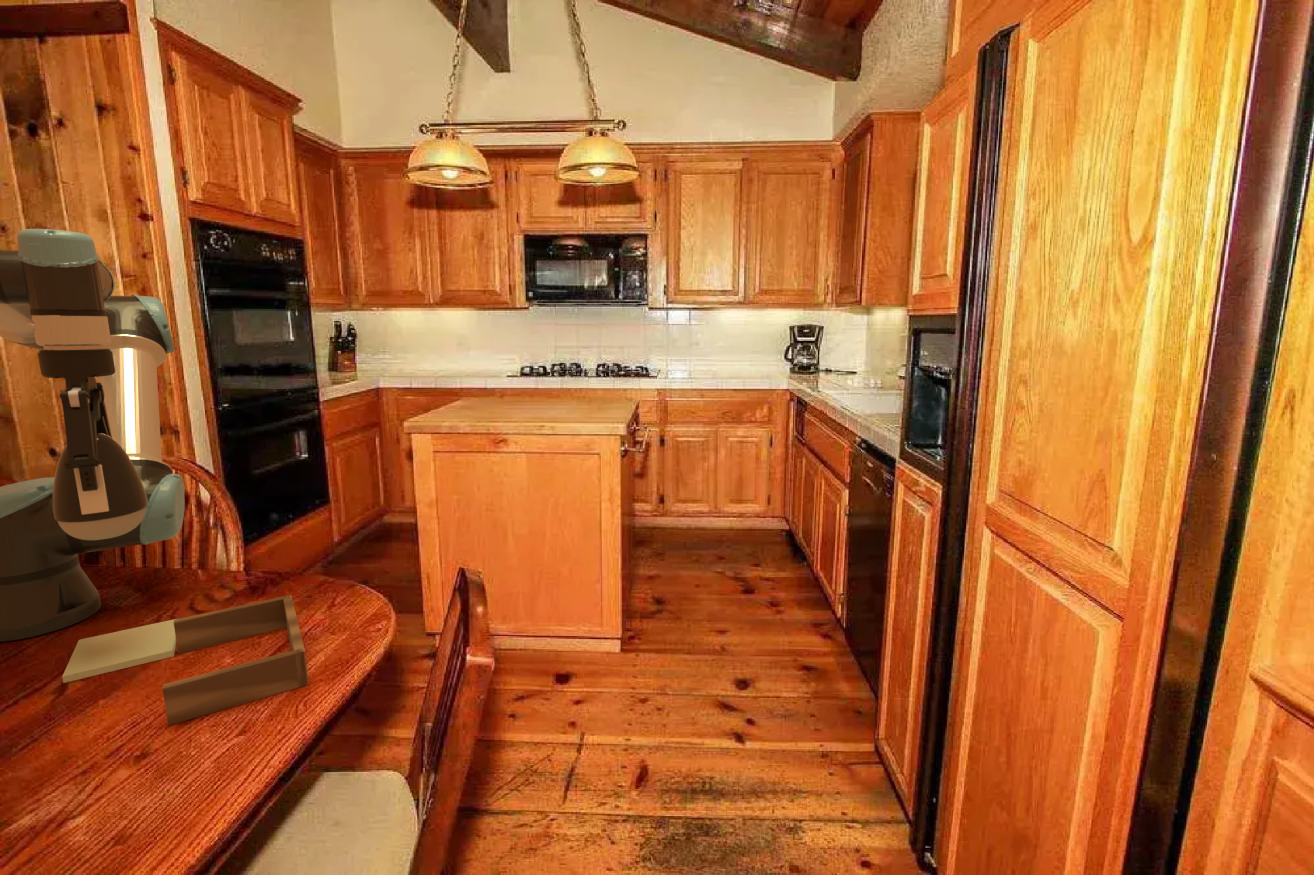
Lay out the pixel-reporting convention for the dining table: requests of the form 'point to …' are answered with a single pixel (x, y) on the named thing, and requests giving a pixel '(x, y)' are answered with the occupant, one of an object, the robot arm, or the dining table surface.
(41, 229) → the robot arm
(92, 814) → the dining table surface
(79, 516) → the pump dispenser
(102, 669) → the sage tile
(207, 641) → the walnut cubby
